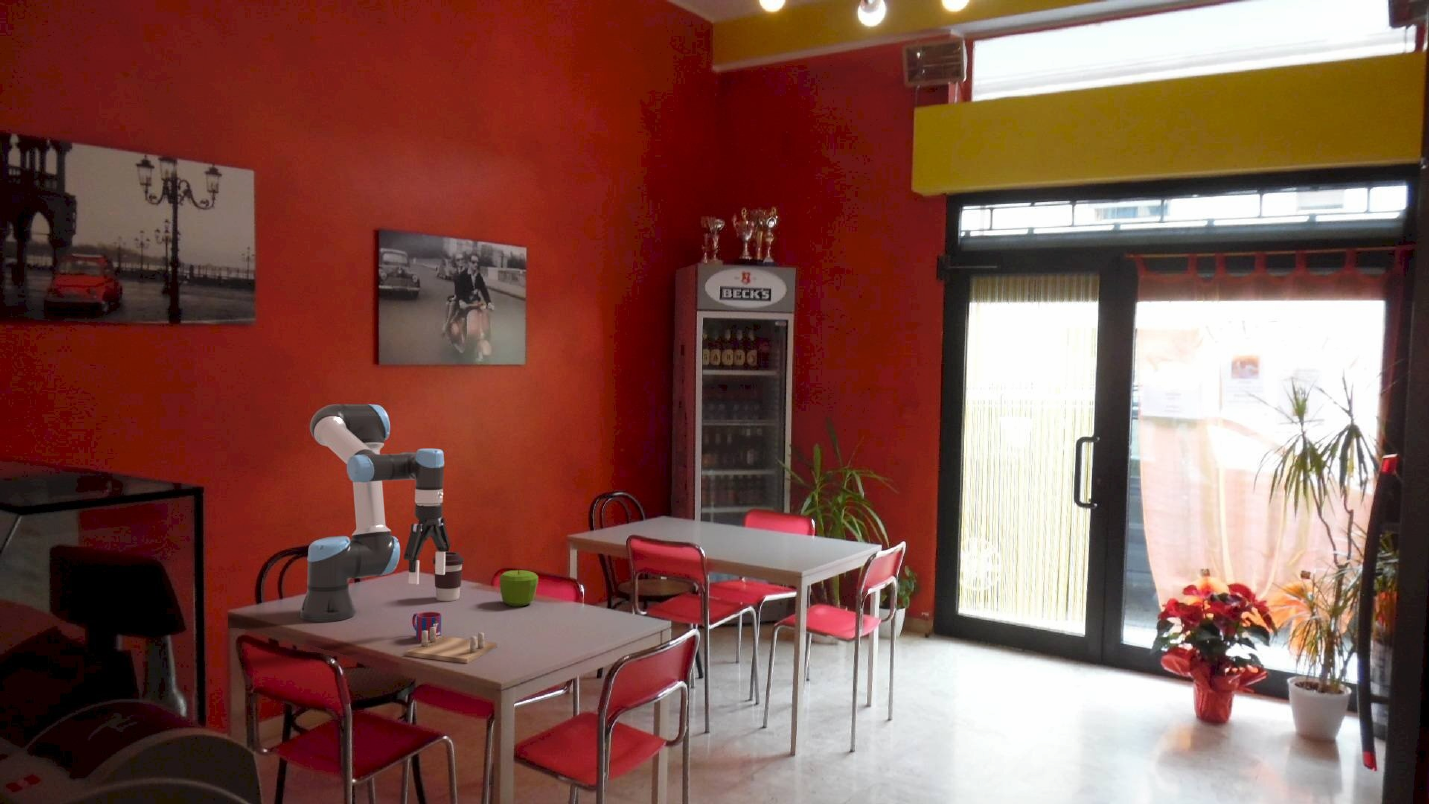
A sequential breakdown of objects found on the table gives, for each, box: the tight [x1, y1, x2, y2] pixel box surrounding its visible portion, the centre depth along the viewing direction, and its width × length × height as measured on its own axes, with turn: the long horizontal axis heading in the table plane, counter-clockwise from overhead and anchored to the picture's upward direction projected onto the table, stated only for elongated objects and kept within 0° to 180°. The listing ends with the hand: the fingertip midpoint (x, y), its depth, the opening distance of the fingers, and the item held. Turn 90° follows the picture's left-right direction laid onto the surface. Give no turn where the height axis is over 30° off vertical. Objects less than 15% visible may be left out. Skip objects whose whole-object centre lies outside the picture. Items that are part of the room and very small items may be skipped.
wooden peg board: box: [405, 627, 498, 664], centre depth 263 cm, size 18×16×5 cm
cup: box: [411, 611, 442, 643], centre depth 276 cm, size 7×10×7 cm
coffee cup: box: [432, 551, 465, 602], centre depth 321 cm, size 10×10×15 cm
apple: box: [499, 569, 539, 607], centre depth 317 cm, size 12×12×11 cm
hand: (427, 579), depth 275 cm, fingers open, 13 cm apart
